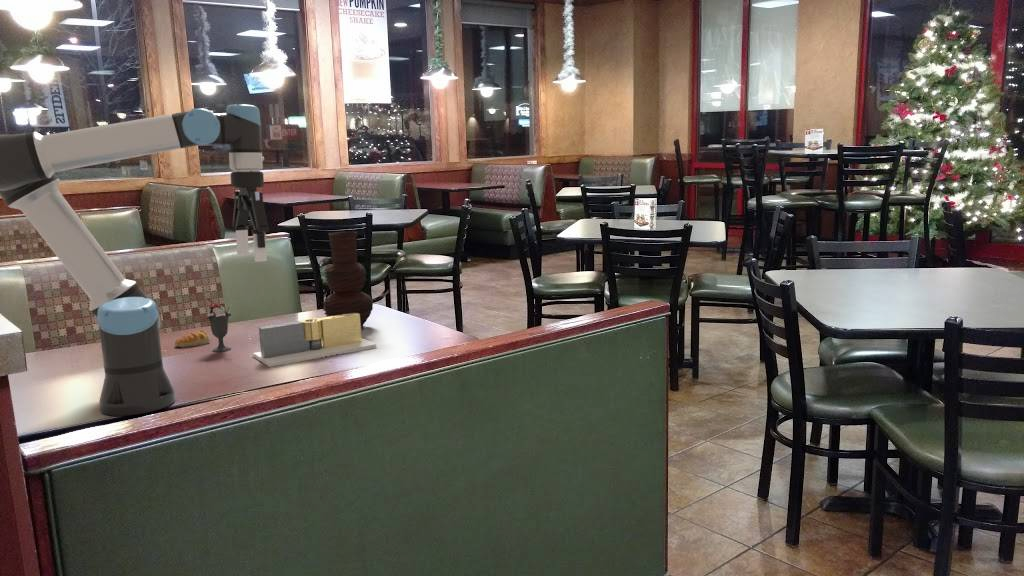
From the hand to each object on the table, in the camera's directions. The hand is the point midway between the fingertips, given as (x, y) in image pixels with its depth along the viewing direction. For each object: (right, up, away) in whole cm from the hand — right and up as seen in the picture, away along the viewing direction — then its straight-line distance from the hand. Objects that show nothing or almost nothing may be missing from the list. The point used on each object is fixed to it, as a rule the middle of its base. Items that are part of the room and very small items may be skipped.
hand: (251, 258), depth 193 cm
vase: (+13, -20, +53) cm, 58 cm away
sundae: (-19, -25, +31) cm, 44 cm away
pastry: (-30, -24, +40) cm, 56 cm away
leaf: (+13, -23, +27) cm, 38 cm away
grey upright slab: (+4, -25, +21) cm, 33 cm away
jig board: (+9, -25, +25) cm, 36 cm away
